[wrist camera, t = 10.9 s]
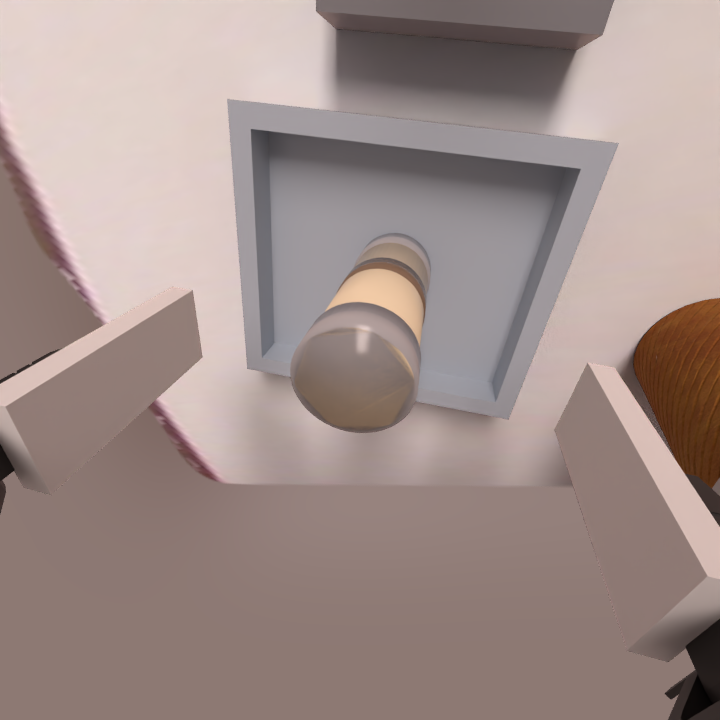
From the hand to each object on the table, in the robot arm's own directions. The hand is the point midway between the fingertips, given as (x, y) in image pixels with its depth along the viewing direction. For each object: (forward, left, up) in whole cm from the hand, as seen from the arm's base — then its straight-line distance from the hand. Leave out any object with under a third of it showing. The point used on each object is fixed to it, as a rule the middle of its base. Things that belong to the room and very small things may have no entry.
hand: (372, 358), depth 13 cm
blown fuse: (0, 0, -9) cm, 9 cm away
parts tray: (0, 0, -10) cm, 10 cm away
